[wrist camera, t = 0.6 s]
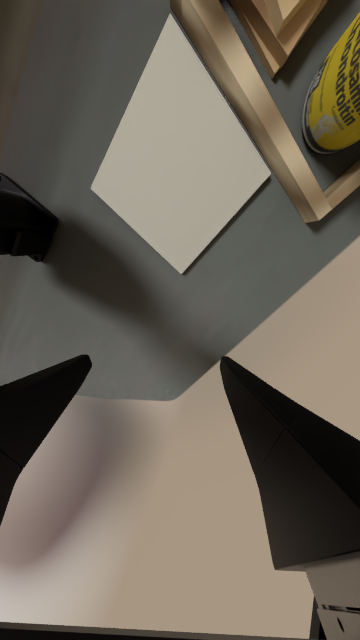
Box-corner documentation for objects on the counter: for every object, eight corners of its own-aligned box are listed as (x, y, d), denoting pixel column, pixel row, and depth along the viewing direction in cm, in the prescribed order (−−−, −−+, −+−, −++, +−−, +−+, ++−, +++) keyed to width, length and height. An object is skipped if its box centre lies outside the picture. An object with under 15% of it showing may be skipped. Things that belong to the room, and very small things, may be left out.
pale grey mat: (93, 190, 16) (90, 188, 15) (171, 24, 11) (170, 13, 11) (181, 273, 20) (181, 274, 19) (268, 175, 15) (271, 173, 14)
